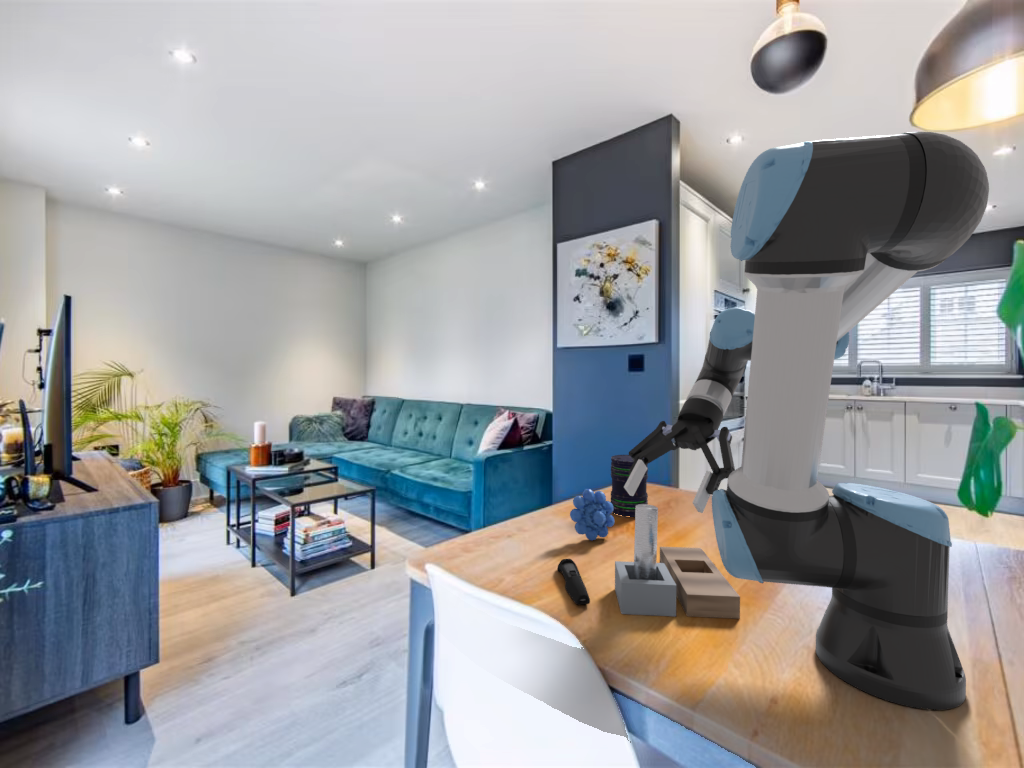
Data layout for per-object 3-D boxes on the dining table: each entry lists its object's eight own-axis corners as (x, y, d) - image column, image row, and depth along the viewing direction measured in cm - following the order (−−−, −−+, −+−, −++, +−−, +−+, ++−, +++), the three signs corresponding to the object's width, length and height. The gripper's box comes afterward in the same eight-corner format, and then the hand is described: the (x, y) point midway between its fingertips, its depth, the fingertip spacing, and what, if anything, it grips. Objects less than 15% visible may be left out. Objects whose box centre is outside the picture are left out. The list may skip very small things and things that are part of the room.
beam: (739, 618, 73) (740, 596, 73) (687, 616, 74) (687, 594, 74) (700, 565, 93) (701, 547, 93) (659, 563, 94) (659, 546, 94)
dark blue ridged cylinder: (640, 506, 133) (641, 454, 132) (653, 517, 123) (653, 461, 123) (606, 507, 132) (606, 454, 132) (616, 518, 122) (616, 461, 122)
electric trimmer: (571, 613, 76) (571, 594, 76) (556, 570, 91) (556, 555, 91) (594, 612, 76) (594, 593, 76) (575, 570, 92) (575, 554, 91)
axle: (657, 601, 76) (660, 510, 76) (635, 600, 77) (637, 509, 76) (653, 591, 80) (655, 504, 80) (631, 590, 80) (633, 503, 80)
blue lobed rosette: (580, 551, 100) (580, 495, 100) (564, 540, 107) (565, 488, 106) (625, 543, 105) (625, 490, 105) (607, 533, 111) (607, 483, 111)
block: (676, 616, 74) (676, 585, 74) (621, 613, 75) (621, 583, 74) (663, 591, 82) (664, 563, 82) (614, 588, 83) (615, 561, 83)
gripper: (778, 427, 83) (739, 529, 74) (655, 416, 102) (612, 496, 93) (766, 398, 80) (724, 502, 71) (641, 393, 99) (595, 474, 90)
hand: (660, 499), depth 82 cm, fingers open, 13 cm apart
